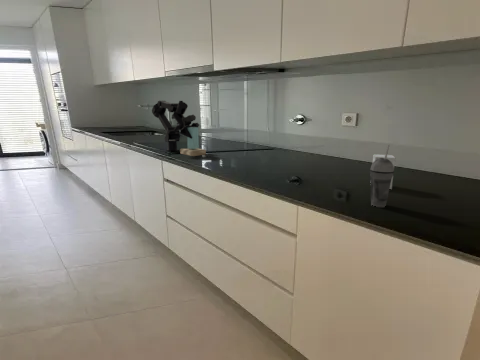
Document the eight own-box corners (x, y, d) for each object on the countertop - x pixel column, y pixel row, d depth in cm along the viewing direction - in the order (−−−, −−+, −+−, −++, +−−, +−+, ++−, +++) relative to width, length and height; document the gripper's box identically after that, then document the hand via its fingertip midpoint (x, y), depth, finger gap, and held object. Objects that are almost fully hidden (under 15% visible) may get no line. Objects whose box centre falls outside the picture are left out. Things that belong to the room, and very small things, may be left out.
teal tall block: (187, 148, 210) (187, 127, 207) (192, 147, 214) (192, 127, 211) (193, 148, 207) (193, 128, 204) (198, 148, 211) (198, 127, 208)
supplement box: (371, 188, 129) (374, 156, 126) (370, 184, 136) (373, 153, 133) (392, 190, 127) (395, 157, 124) (389, 185, 134) (393, 154, 131)
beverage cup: (365, 201, 113) (371, 142, 108) (388, 203, 111) (395, 143, 106) (367, 207, 106) (373, 145, 102) (391, 209, 104) (399, 146, 100)
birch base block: (180, 153, 214) (180, 148, 213) (193, 151, 220) (192, 147, 220) (192, 156, 204) (192, 151, 203) (205, 154, 210) (205, 149, 210)
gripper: (177, 110, 199) (191, 130, 196) (196, 110, 215) (210, 128, 212) (167, 123, 205) (182, 142, 202) (187, 121, 221) (201, 139, 218)
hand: (194, 137), depth 208 cm, fingers closed on teal tall block, 5 cm apart
